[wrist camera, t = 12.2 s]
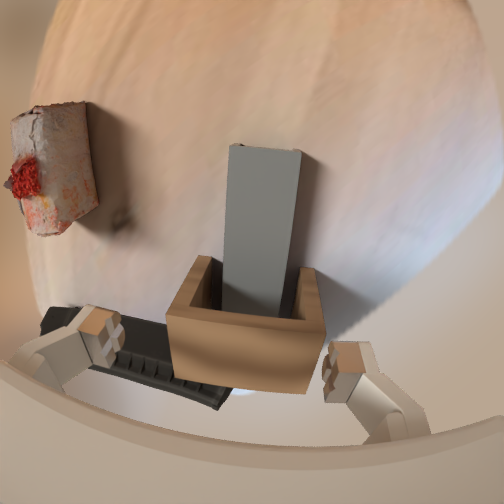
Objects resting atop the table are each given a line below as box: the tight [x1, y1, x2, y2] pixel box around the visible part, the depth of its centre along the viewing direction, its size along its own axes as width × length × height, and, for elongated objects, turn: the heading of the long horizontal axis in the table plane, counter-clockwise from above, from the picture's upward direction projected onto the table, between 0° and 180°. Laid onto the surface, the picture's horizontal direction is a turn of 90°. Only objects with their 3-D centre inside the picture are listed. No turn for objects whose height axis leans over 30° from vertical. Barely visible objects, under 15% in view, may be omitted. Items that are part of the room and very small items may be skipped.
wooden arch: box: [166, 255, 326, 394], centre depth 27 cm, size 8×12×10 cm, turn 85°
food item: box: [4, 101, 99, 237], centre depth 22 cm, size 14×8×10 cm, turn 3°
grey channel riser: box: [222, 143, 302, 318], centre depth 28 cm, size 20×6×3 cm, turn 175°
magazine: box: [40, 306, 233, 411], centre depth 32 cm, size 17×3×30 cm
